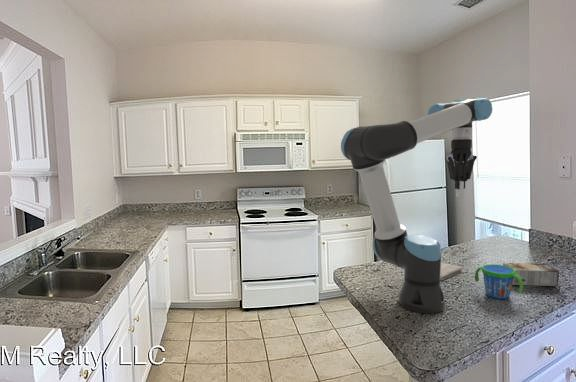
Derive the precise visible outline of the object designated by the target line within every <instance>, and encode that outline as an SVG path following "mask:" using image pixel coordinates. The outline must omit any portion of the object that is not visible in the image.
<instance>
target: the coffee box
mask: <svg viewBox="0 0 576 382" xmlns="http://www.w3.org/2000/svg"><path fill="white" fill-rule="evenodd" d="M502 265H503V266H507V267H510V268H513V269H514V270H515V272H516V273H517V274H518V275H519V276H520V277H521V279H522V282H523V285H534V286H538V287H558V285H559V274H560V271H559V270H557V269H556V268H554V267H553V266H551V265H549V264H547V263H528V262H527V263H526V262H524V263H523V262H522V263H521V262H503V263H502ZM512 286H520V284H519V281H518V279H517V278H516V277H514V279H513V284H512Z"/></svg>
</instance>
